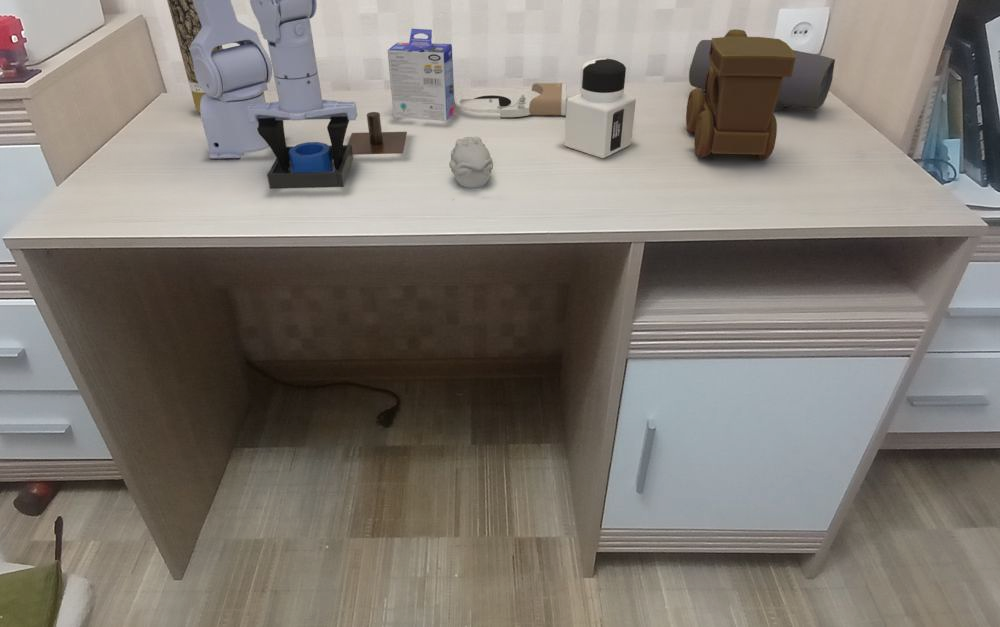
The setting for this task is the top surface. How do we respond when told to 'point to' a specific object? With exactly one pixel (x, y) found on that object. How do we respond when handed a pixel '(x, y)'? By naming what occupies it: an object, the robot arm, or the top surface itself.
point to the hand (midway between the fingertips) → (312, 168)
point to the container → (600, 110)
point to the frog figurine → (471, 162)
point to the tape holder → (377, 139)
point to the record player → (521, 100)
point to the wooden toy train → (739, 95)
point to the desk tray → (311, 174)
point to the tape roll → (311, 158)
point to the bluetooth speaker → (795, 91)
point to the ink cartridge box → (422, 78)
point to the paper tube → (188, 40)
